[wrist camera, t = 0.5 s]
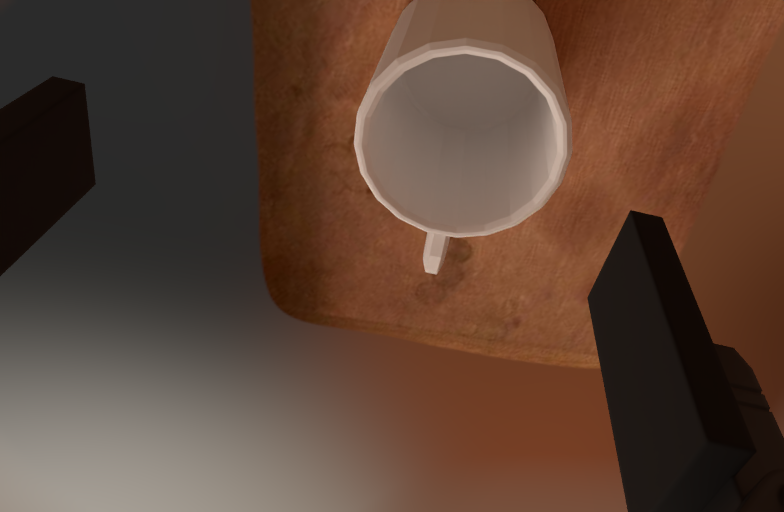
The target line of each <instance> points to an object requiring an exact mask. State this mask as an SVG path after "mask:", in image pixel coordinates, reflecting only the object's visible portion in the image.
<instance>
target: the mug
mask: <svg viewBox="0 0 784 512" xmlns="http://www.w3.org/2000/svg"><path fill="white" fill-rule="evenodd" d="M354 146H355V151H356V155H357V159H358V164H359V168H360V173H361V174H362V176H363V178H364V179H365V181H366V183H367V184H368V186H369V188H370V189H371V191H372V192H373V194H374V196H375V197H376V199H377V200H378V201H380V202H381V203H382V204H383V205H384V206H385V207H386V208H387V209H389V210H390V211H391V212H392V213H393V214H394V215H395V216H396V217H397V218H399V219H401V220H403V221H405V222H407V223H409V224H411V225H413V226H415V227H417V228H419V229H421V230H423V231H425V232H427V237H426V243H425V248H424V254H423V263H424V268H425V272H428V273H433V274H437V273H438V271H439V270H440V268H441V267H442V265H443V262H444V258H445V255H446V251H447V248H448V243H449V238H450V236H451V237H456V238H457V237H471V236H486V235H490V234H493V233H496V232H499V231H501V230H504V229H507V228H510V227H513V226H516V225H518V224H519V223H521V222H522V221H524V220H525V219H526V218H528V217H529V216H531V215H532V214H534V213H535V212H536V211H538V210H539V209H541V208H542V207H543V206H544V205H545V204H546V202H547V201H548V200H549V198H550V197H551V196H552V195H553V193H554V192H555V191H556V189H557V188H558V187H559V185H560V184H561V183H562V181H563V178H564V175H565V172H566V169H567V166H568V163H569V160H570V158H571V155H572V119H571V115H570V110H569V106H568V102H567V97H566V93H565V88H564V84H563V80H562V75H561V71H560V66H559V62H558V58H557V53H556V49H555V44H554V40H553V37H552V34H551V31H550V29H549V26H548V24H547V21H546V18H545V16H544V13H543V12H542V11H541V10H540V8H539V7H538V6H537V5H536V4H535V3H534V1H533V0H413V1H412V2H411V3H410V4H409V5H408V6H407V7H406V8H405V9H404V10H403V11H402V13H401V15H400V17H399V19H398V22H397V24H396V26H395V28H394V30H393V32H392V34H391V36H390V38H389V41H388V43H387V45H386V48H385V50H384V52H383V54H382V57H381V59H380V61H379V64H378V66H377V68H376V71H375V73H374V75H373V77H372V80H371V82H370V84H369V87H368V89H367V91H366V93H365V96H364V98H363V100H362V103H361V105H360V107H359V110H358V112H357V119H356V128H355V137H354Z"/></svg>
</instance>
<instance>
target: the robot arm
mask: <svg viewBox="0 0 784 512" xmlns="http://www.w3.org/2000/svg"><path fill="white" fill-rule="evenodd" d="M95 184H96V183H95V174H94V166H93V157H92V147H91V138H90V129H89V120H88V111H87V101H86V92H85V84H82V83H79V82H75V81H70V80H66V79H62V78H57V77H51V78H49V79H48V80H46V81H45V82H43V83H41V84H40V85H38V86H36V87H35V88H33V89H32V90H30V91H28V92H27V93H25V94H24V95H22V96H20V97H19V98H17V99H16V100H14V101H12V102H11V103H9V104H8V105H6V106H4V107H3V108H1V109H0V276H1V275H2V274H3V273H4V272H5V271H6V270H7V269H8V268H9V267H10V266H11V265H12V264H13V263H14V262H16V261H17V260H18V259H19V257H21V256H22V255H23V254H24V253H25V252H26V251H27V250H28V249H29V248H30V247H31V246H32V245H33V244H34V243H35V242H36V241H37V240H38V239H39V238H40V237H41V236H42V235H43V234H45V233H46V232H47V231H48V229H50V228H51V227H52V226H53V225H54V224H55V223H56V222H57V221H58V220H59V219H60V218H61V217H62V216H63V215H64V214H65V213H66V212H67V211H68V210H69V209H70V208H71V207H72V206H73V205H75V204H76V202H77V201H79V200H80V199H81V198H82V197H83V196H84V195H85V194H86V193H87V192H88V191H89V190H90V189H91V188H92V187H93V186H94V185H95ZM588 303H589V308H590V313H591V319H592V324H593V329H594V335H595V340H596V345H597V350H598V356H599V361H600V366H601V372H602V377H603V382H604V387H605V392H606V398H607V403H608V409H609V414H610V419H611V424H612V430H613V435H614V440H615V445H616V451H617V456H618V461H619V467H620V472H621V477H622V483H623V488H624V493H625V498H626V504H627V509H628V512H784V438H783V436H782V434H781V431H780V429H779V427H778V425H777V422H776V420H775V418H774V416H773V414H772V412H769V409H770V407H769V405H768V403H767V401H766V399H765V396H764V395H763V394H761V391H762V389H761V387H760V385H759V383H758V381H757V379H756V376H755V374H754V372H753V370H752V368H751V367H750V366H749V365H748V364H747V363H746V361H745V360H744V359H743V358H742V357H741V356H740V355H739V354H738V352H737V351H736V350H735V349H734V348H731V347H727V346H723V345H718V344H714V343H713V342H712V339H711V337H710V334H709V332H708V329H707V327H706V325H705V322H704V319H703V317H702V314H701V312H700V310H699V307H698V305H697V302H696V300H695V297H694V295H693V292H692V290H691V287H690V285H689V282H688V280H687V278H686V275H685V272H684V270H683V267H682V265H681V263H680V260H679V258H678V255H677V253H676V250H675V248H674V245H673V243H672V240H671V238H670V235H669V233H668V230H667V228H666V225H665V223H664V221H663V218H662V217H658V216H653V215H649V214H645V213H640V212H636V211H632V210H630V212H629V215H628V217H627V219H626V221H625V223H624V225H623V227H622V229H621V231H620V233H619V235H618V237H617V239H616V241H615V243H614V245H613V247H612V249H611V251H610V253H609V255H608V257H607V259H606V261H605V263H604V265H603V267H602V269H601V271H600V273H599V275H598V277H597V279H596V281H595V283H594V285H593V287H592V290H591V292H590V294H589V296H588Z"/></svg>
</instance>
